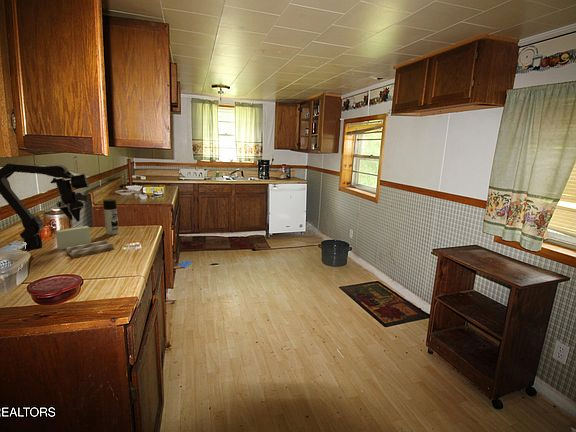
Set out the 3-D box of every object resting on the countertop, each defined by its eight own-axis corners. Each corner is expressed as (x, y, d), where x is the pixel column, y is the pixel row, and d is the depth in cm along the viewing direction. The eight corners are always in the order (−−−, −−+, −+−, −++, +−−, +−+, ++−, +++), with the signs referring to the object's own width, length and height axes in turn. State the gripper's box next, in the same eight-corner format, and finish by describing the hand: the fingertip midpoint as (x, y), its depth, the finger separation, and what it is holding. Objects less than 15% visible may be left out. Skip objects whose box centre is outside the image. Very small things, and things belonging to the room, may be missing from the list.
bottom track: (73, 258, 145) (73, 251, 144) (66, 253, 150) (65, 247, 150) (114, 249, 159) (113, 243, 158) (106, 245, 164) (106, 239, 164)
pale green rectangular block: (59, 249, 156) (57, 232, 154) (57, 248, 158) (55, 230, 156) (91, 243, 166) (89, 227, 165) (88, 242, 168) (86, 226, 167)
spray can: (113, 235, 182) (110, 201, 178) (103, 234, 183) (100, 200, 179) (121, 232, 188) (119, 199, 184) (111, 231, 190) (109, 198, 185)
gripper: (90, 187, 157) (99, 217, 161) (76, 186, 168) (84, 214, 172) (65, 192, 148) (75, 224, 153) (51, 191, 160) (61, 220, 164)
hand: (74, 220), depth 161 cm, fingers open, 9 cm apart
